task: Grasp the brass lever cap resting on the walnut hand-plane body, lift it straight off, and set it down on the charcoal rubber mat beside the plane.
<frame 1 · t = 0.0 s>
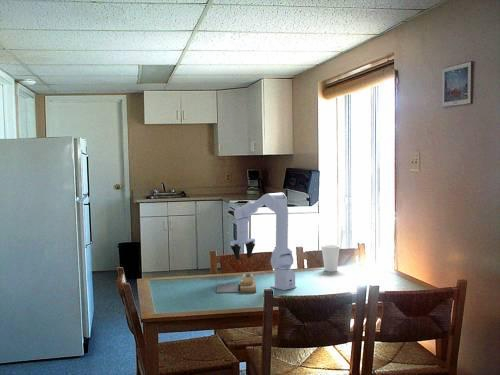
hand: (243, 258, 293), 10 cm above the table, fingers open, 7 cm apart
foam cup: (330, 270, 310), on the table
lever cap: (248, 282, 272), point 2 cm above the table, touching plane body
plane body: (248, 288, 272), on the table
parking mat: (227, 288, 272), on the table
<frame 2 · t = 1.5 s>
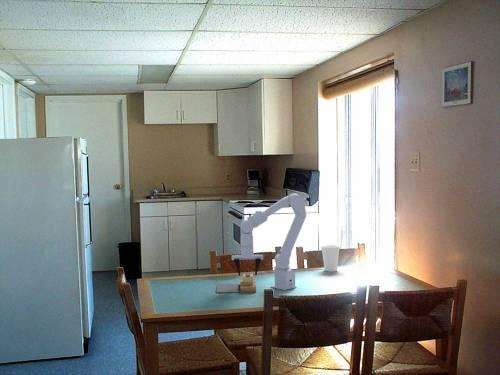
hand: (247, 275, 272), 6 cm above the table, fingers open, 7 cm apart
nothing on the table moved.
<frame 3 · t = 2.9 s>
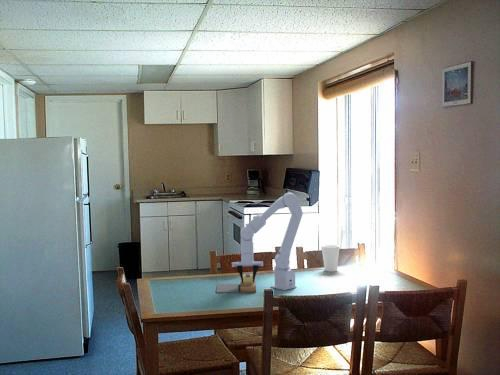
hand: (247, 281, 272), 3 cm above the table, fingers closed on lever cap, 4 cm apart
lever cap: (248, 282, 272), point 2 cm above the table, touching gripper, plane body
everything else where it was.
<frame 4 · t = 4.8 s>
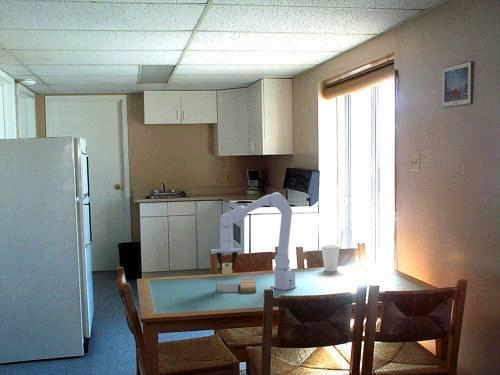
hand: (227, 268, 272), 9 cm above the table, fingers closed on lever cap, 4 cm apart
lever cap: (227, 272, 272), point 8 cm above the table, touching gripper
everything else where it was.
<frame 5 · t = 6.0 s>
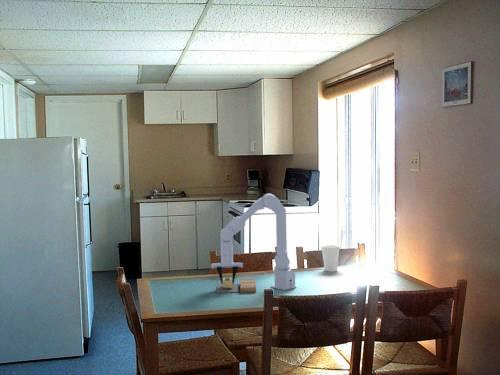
hand: (227, 283, 272), 3 cm above the table, fingers closed on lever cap, 4 cm apart
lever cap: (227, 286, 272), point 1 cm above the table, touching gripper
everything else where it was.
when the fingers open (2 cm above the table, at t = 6.9 s): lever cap stays where it is, resting on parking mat.
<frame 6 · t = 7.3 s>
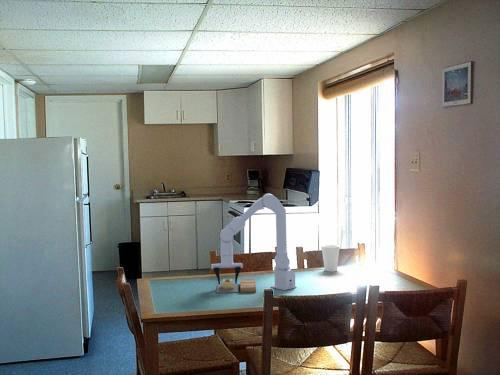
hand: (227, 283, 272), 3 cm above the table, fingers open, 7 cm apart
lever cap: (227, 287, 272), resting on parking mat
everything else where it was.
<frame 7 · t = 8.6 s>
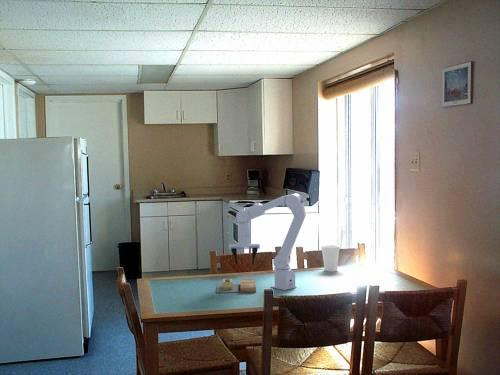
hand: (244, 264, 277), 10 cm above the table, fingers open, 7 cm apart
nothing on the table moved.
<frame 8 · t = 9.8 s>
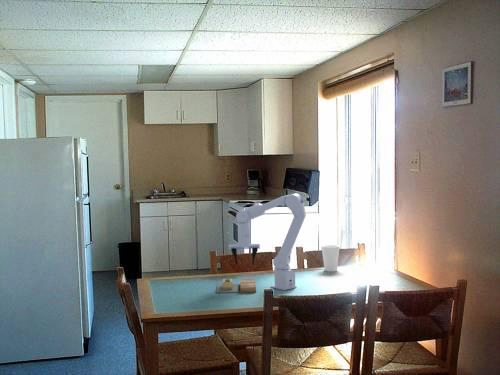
hand: (244, 264, 277), 10 cm above the table, fingers open, 7 cm apart
nothing on the table moved.
at the end: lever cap inside the target area on the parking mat (0.0 cm from its centre), point 0.5 cm above the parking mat's base; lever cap tilted 0°; the gripper is holding nothing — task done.
